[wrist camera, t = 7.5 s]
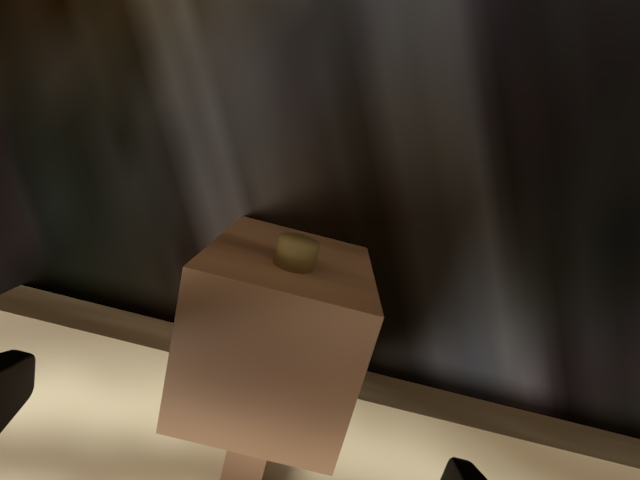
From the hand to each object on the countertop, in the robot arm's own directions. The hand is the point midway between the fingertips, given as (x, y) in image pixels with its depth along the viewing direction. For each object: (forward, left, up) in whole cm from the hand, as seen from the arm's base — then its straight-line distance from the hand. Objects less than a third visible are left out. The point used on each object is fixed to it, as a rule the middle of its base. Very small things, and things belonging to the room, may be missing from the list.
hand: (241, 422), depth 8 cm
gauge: (-5, 0, -8) cm, 9 cm away
